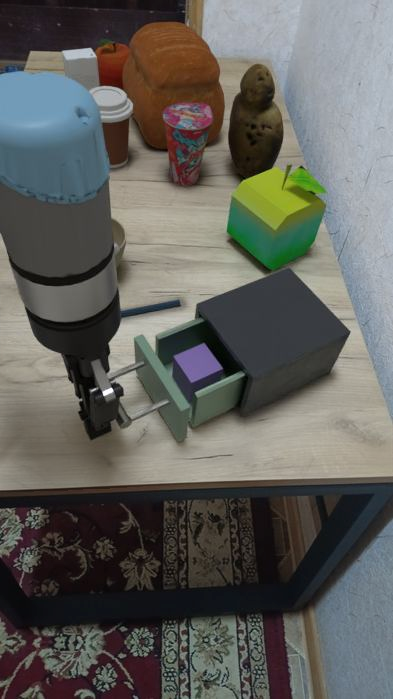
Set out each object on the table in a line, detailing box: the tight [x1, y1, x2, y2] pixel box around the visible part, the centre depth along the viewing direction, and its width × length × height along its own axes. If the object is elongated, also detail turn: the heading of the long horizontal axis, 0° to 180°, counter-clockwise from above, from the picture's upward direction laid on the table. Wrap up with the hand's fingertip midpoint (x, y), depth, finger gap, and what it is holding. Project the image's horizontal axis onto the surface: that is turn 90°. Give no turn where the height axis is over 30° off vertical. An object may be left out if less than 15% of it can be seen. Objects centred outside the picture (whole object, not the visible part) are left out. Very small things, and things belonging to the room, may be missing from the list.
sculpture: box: [227, 63, 285, 179], centre depth 86 cm, size 13×8×20 cm, turn 11°
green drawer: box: [106, 316, 248, 443], centre depth 60 cm, size 20×11×7 cm, turn 121°
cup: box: [163, 103, 213, 187], centre depth 88 cm, size 9×8×12 cm
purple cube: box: [172, 343, 223, 402], centre depth 61 cm, size 4×4×4 cm
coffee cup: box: [89, 85, 133, 169], centre depth 90 cm, size 9×9×12 cm
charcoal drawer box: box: [194, 267, 352, 419], centre depth 64 cm, size 15×13×9 cm
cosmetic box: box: [61, 47, 101, 91], centre depth 99 cm, size 6×4×12 cm
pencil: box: [121, 299, 182, 318], centre depth 71 cm, size 1×1×15 cm
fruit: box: [94, 38, 131, 91], centre depth 108 cm, size 10×10×10 cm
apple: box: [225, 164, 329, 271], centre depth 76 cm, size 11×10×15 cm
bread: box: [122, 21, 226, 150], centre depth 97 cm, size 18×21×17 cm
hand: (98, 430), depth 58 cm, fingers closed
